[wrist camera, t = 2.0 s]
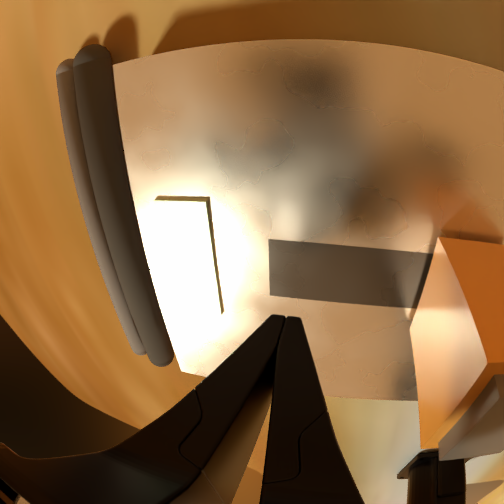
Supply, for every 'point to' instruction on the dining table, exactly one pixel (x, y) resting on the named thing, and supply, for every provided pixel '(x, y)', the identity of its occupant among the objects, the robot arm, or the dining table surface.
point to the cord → (109, 198)
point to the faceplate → (308, 193)
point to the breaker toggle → (461, 350)
